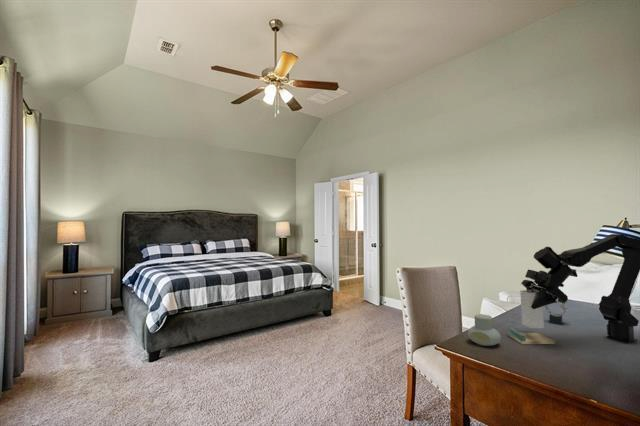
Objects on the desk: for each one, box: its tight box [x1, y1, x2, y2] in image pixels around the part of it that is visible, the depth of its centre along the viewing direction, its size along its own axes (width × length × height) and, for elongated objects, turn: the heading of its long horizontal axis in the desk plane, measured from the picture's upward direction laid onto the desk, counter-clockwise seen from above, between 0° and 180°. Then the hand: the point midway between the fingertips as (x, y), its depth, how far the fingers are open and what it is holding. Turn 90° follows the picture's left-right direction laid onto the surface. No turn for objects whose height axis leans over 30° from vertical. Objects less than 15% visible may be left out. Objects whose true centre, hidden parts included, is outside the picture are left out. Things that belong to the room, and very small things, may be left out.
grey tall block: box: [519, 289, 545, 329], centre depth 118 cm, size 5×5×14 cm
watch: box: [544, 299, 568, 326], centre depth 138 cm, size 6×8×11 cm
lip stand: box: [506, 327, 556, 345], centre depth 118 cm, size 12×9×3 cm
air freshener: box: [467, 313, 502, 347], centre depth 115 cm, size 11×8×10 cm
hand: (528, 306), depth 118 cm, fingers closed on grey tall block, 5 cm apart
